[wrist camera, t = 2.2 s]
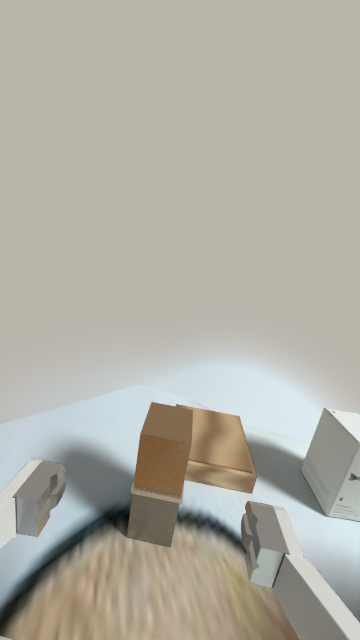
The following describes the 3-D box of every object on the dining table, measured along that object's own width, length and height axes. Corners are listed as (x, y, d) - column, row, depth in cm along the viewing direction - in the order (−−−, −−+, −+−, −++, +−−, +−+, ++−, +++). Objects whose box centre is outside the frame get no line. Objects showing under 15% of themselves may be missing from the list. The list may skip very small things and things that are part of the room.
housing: (124, 539, 23) (138, 434, 20) (137, 490, 29) (150, 400, 25) (172, 549, 23) (193, 445, 20) (176, 498, 28) (194, 409, 25)
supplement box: (325, 518, 29) (358, 442, 26) (299, 468, 36) (322, 405, 33) (380, 528, 29) (419, 453, 26) (342, 476, 36) (369, 413, 33)
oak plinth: (164, 475, 31) (167, 457, 30) (174, 416, 44) (176, 402, 43) (251, 493, 31) (257, 475, 30) (236, 428, 43) (239, 414, 42)
